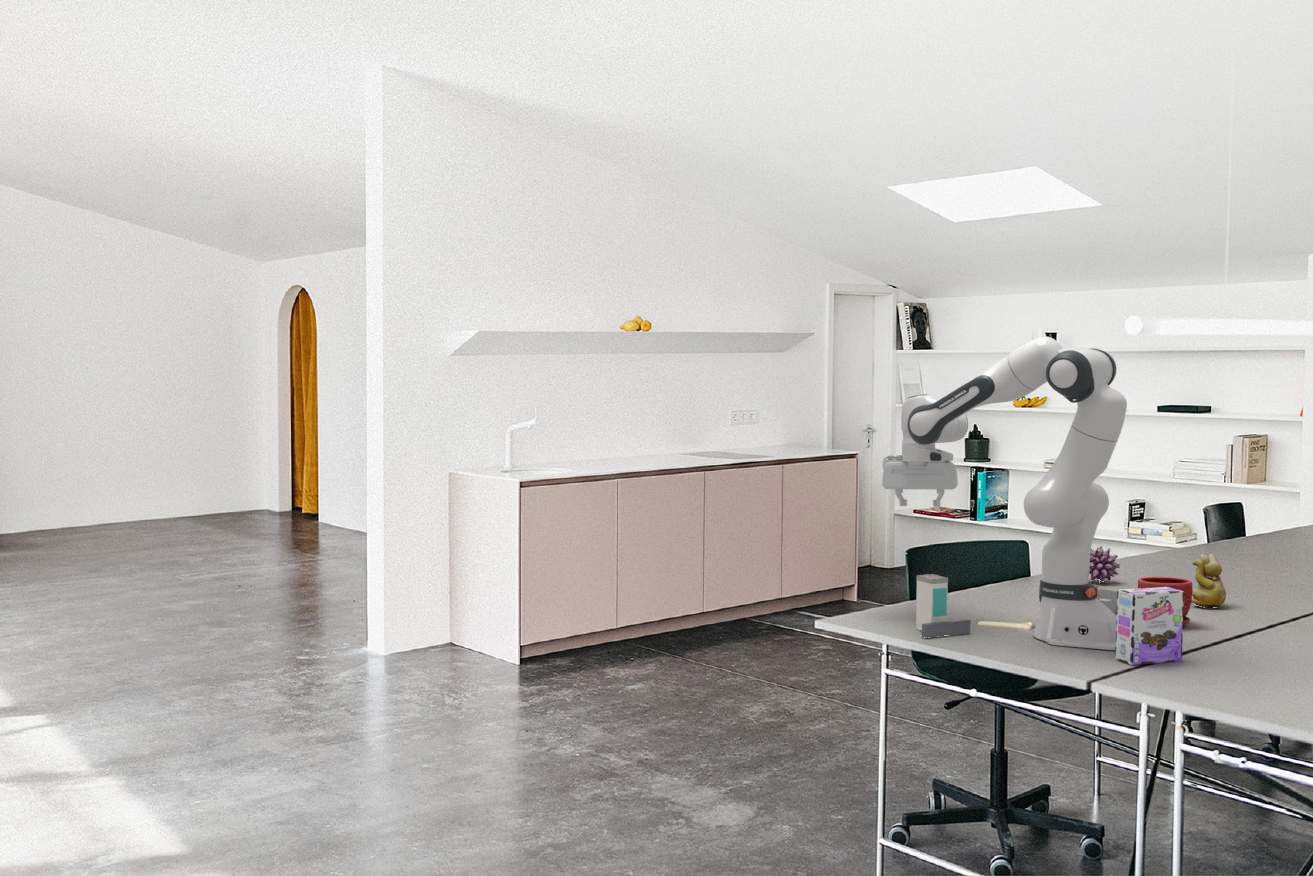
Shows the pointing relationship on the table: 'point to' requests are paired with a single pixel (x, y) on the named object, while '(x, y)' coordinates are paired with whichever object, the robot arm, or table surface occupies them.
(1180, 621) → the candy box
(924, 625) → the rail
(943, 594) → the carton
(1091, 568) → the purple spiky ball
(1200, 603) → the decorative figurine
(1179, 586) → the plant pot
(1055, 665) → the table surface
